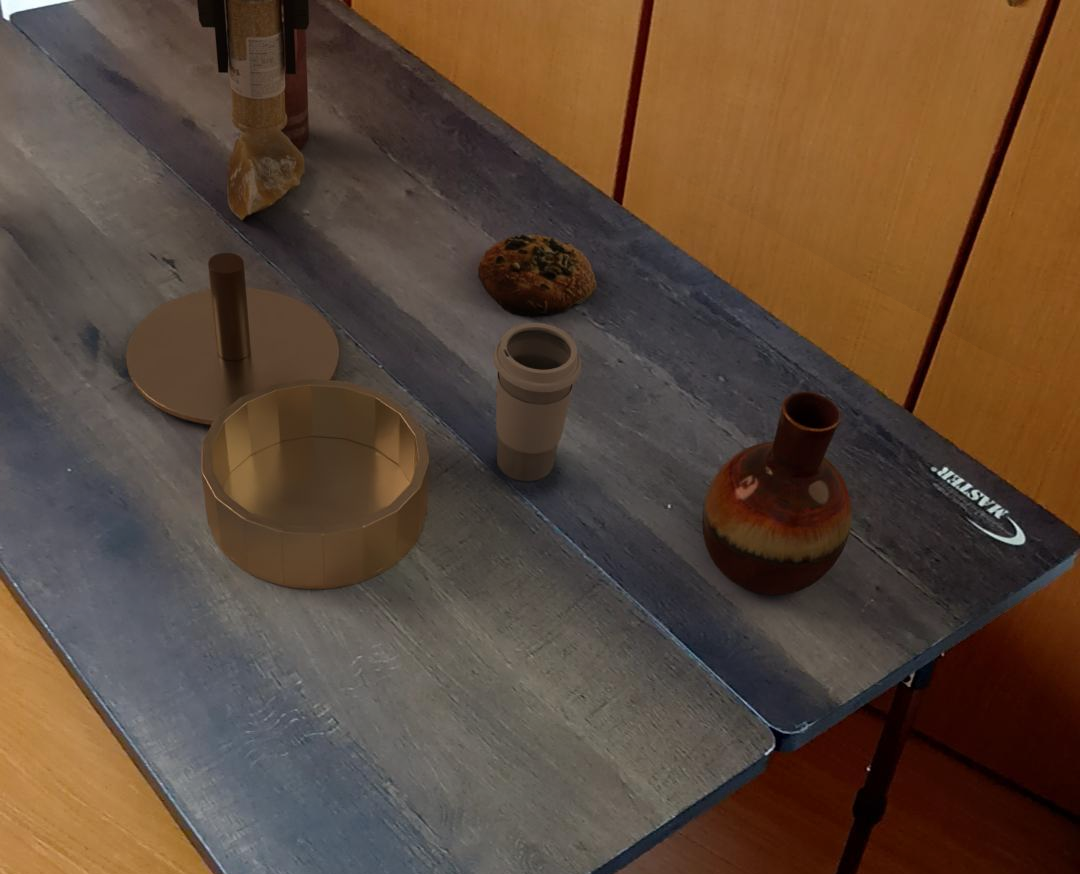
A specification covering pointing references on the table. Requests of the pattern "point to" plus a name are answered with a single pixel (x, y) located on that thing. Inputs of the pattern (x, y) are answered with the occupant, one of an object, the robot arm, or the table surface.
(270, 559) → the pot
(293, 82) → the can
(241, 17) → the sprinkles bottle
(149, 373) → the pot lid
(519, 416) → the cup
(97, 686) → the table surface
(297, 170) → the stone
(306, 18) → the robot arm
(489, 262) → the bread roll
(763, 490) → the vase
